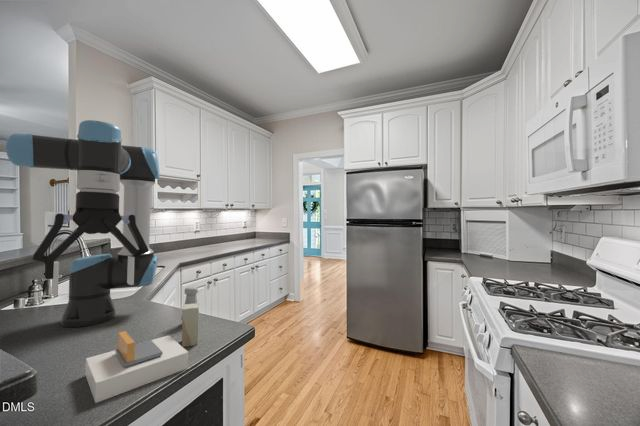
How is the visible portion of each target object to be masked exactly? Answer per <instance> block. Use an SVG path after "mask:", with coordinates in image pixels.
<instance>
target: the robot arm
mask: <svg viewBox="0 0 640 426" xmlns="http://www.w3.org/2000/svg"><path fill="white" fill-rule="evenodd" d="M76 138H77V139H75V138H74V139H72V138H64V137H55V136H45V135H39V134H38V135H36V134H32V133H13V134H11V135H9V136H8V138H7V140H6V143H5V151H6V155H7V157H8V159H9V161H10V162H11V163H12V164H14V165H15V166H17V167H18V166H19V167H25V168H27V167H28V168H30V169H31V168H34V169H35V168H37V169H52V170H53V169H54V170H55V169H56V170H70V171H76V185H75V186H76V189H77V190H79V191H77V193H76V194H75V212H74V213H73V214H63V213H56V214H55V215H54V220H53V225H52V227H51V228H50V229H49V231H48V232H47V234H46V236H45V237H44V239H42V241H41V243H40V244H39V246H38V247H37V248H36V250H35V252H34V254H33V255H32V259H33V260H34V261H35V262H42V263H44V265H45V266H44V277H45V279H46V280H52V281H51V282H52V283H51V295H52V297H54V296H59V280H60V278H59V277H60V276H59V275H60V262H59V261H56V260H57V259H58V258H59V257H60V256H61V255H62V254H63V253H64V252H65V251H66V250H67V249H69V247H71V245H73V244H74V242H76V240H78V239H79V238H80V237H81V236H83V234H84V233H85V234H88V235H96V234H103V235H105V234H111V235H113V236H114V237H115V238H116V240H117V241H118V242H119V243H120V244H122V248H121V249H120V250H119V251H118V252H117V257H113V255H112V254H111V253H100V254H95V255H94V254H93V255H89V256H83V257H78V258H76V259H72V260H71V262H70V264H69V265H70V266H69V272H68V274H69V277H68V280H69V281H68V302H67V304H66V306H65V309H64V311H63V314H62V315H61V319H60V326H62V327H64V328H80V327H87V326H92V325H97V324H101V323H105V322H108V321H110V320H112V319H113V318H115V317H116V308H115V304H114V302H113V299H112V297H111V290H115V289H124V288H125V289H128V288H140V287H141V288H142V287H147V286H151V285H152V284H153V282H154V280H155V277H156V271H157V268H158V267H157V266H158V259H159V257H158V255H156V254H155V255H154V253H155V252H154V250H153V249H152V248H151V247H150V238H151V237H150V233H151V232H150V229H151V228H150V227H151V226H150V225H151V188H152V186H154V185H155V184H156V180H159V179H160V177H161V176H160V174H161V173H160V166H159V165H160V164H159V158H158V155H157V152H156V151H155V149H153V148H148V147H142V146H132V145H122V141H123V139H122V131H121V128H120V127H118V126H117V125H115V124H113V123H110V122H106V121H101V120H93V119H89V120H87V119H86V120H83V121H81V122H79V125H78V133H77V135H76ZM120 184H122V185H123V215H121V213H120V195H119V193H118V192H120V187H121V185H120ZM70 221H73V222H74V224H75V225H77V227H76V228H75V229H74V230H73V231H72V233H70V234H69V235H68V236H67V237H66V238H65V239H64V240H63V241H62V242H61V243H60V244H59V245H57V246H56V248H54V249H53V250H52V251H51V252H50V253H49V254H48V255H46V254H45V253H47V251H48V249H49V248H50V246H51V244H52V243H53V242H54V240H55V238H56V237H57V235H58V234H59V233H60V231H61V230H62V227H63V225H67V224H68V223H69V222H70ZM121 221H123V223H122V231H121V230H120V229H119V228H118V227H117V226H118V225H119V224H120V222H121Z"/></svg>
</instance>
